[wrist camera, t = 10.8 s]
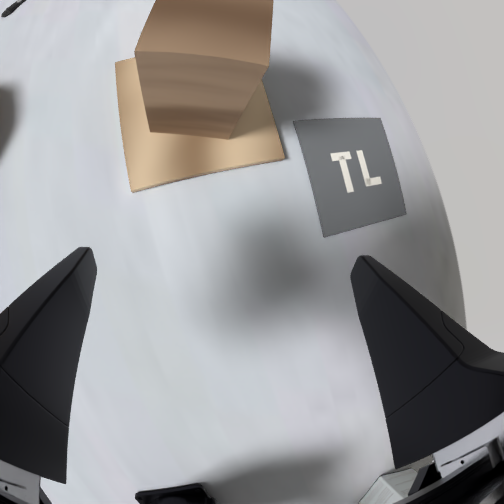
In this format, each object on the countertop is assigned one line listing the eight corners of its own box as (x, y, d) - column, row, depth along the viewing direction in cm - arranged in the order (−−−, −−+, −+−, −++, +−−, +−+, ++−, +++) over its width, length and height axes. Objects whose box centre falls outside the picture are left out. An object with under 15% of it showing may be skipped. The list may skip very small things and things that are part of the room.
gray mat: (323, 237, 20) (324, 237, 19) (293, 121, 19) (293, 120, 19) (405, 214, 22) (406, 214, 21) (379, 118, 21) (380, 117, 21)
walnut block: (228, 139, 17) (268, 66, 9) (150, 132, 16) (134, 51, 8) (235, 77, 17) (273, -7, 9) (164, 69, 16) (166, -21, 7)
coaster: (132, 192, 16) (131, 191, 16) (116, 66, 15) (115, 62, 15) (281, 160, 19) (285, 157, 18) (247, 46, 18) (249, 42, 17)
